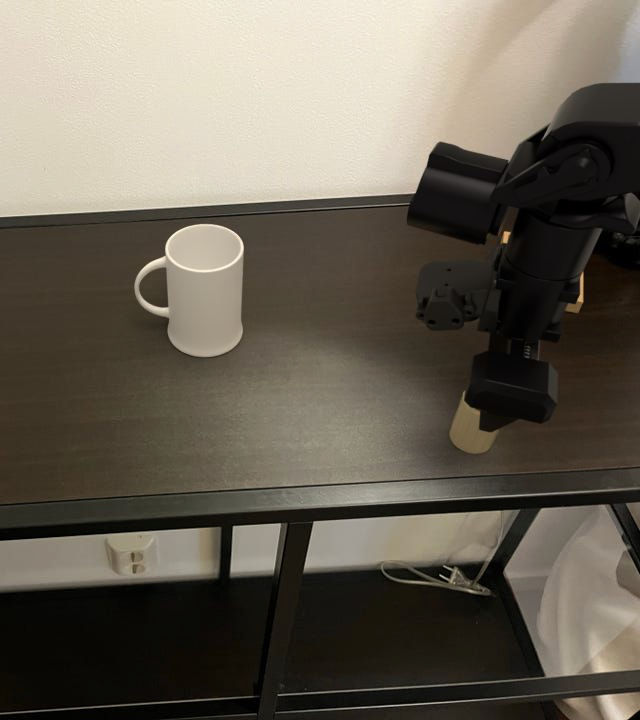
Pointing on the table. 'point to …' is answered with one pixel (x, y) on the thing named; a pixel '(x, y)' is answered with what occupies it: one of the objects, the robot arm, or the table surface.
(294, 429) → the table surface
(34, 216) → the table surface
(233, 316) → the mug
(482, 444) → the pencil cup
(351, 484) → the table surface
